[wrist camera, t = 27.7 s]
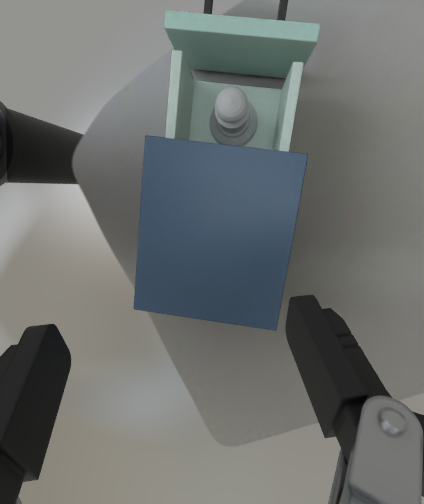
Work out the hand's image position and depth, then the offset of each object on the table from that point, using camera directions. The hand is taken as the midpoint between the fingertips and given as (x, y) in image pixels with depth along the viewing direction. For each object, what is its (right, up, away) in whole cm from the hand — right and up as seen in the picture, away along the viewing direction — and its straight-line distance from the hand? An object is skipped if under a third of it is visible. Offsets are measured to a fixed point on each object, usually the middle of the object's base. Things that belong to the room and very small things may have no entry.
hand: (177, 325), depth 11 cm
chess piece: (+3, +15, +19) cm, 25 cm away
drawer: (+4, +17, +20) cm, 26 cm away
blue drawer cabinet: (+2, +6, +23) cm, 24 cm away
